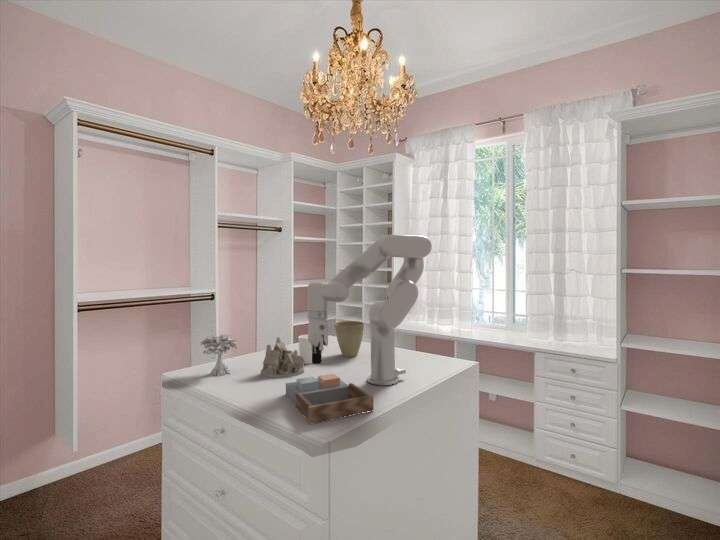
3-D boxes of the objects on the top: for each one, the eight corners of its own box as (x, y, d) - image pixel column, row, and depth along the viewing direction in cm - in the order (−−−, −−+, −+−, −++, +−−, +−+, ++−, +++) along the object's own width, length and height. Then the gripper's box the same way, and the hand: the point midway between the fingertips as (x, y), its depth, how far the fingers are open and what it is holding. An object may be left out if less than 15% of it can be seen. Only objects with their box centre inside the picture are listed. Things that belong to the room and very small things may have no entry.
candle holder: (316, 364, 186) (316, 338, 186) (295, 364, 188) (295, 338, 187) (321, 359, 196) (321, 334, 196) (302, 358, 198) (301, 334, 197)
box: (353, 397, 144) (353, 382, 143) (373, 411, 130) (373, 395, 130) (294, 407, 134) (294, 392, 134) (309, 424, 121) (309, 407, 120)
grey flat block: (334, 386, 156) (334, 375, 155) (350, 397, 143) (350, 386, 143) (285, 394, 147) (285, 383, 147) (297, 407, 135) (297, 395, 134)
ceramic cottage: (254, 375, 171) (256, 339, 170) (282, 367, 185) (284, 334, 184) (281, 383, 162) (283, 346, 162) (308, 374, 176) (310, 340, 175)
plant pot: (330, 353, 207) (330, 322, 207) (357, 350, 213) (356, 320, 213) (341, 360, 194) (341, 326, 193) (369, 356, 200) (369, 324, 199)
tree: (214, 381, 162) (213, 340, 162) (189, 375, 171) (188, 336, 170) (249, 370, 177) (248, 333, 177) (224, 365, 186) (224, 329, 185)
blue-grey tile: (312, 383, 146) (312, 376, 146) (318, 388, 141) (318, 381, 141) (296, 386, 144) (296, 379, 143) (302, 391, 138) (301, 383, 138)
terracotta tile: (333, 380, 150) (333, 373, 150) (340, 384, 144) (339, 377, 144) (318, 382, 147) (317, 375, 147) (324, 387, 142) (324, 380, 142)
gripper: (334, 317, 149) (333, 367, 149) (319, 312, 162) (318, 358, 163) (314, 318, 145) (314, 369, 146) (301, 312, 159) (300, 359, 159)
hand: (316, 363), depth 154 cm, fingers closed
